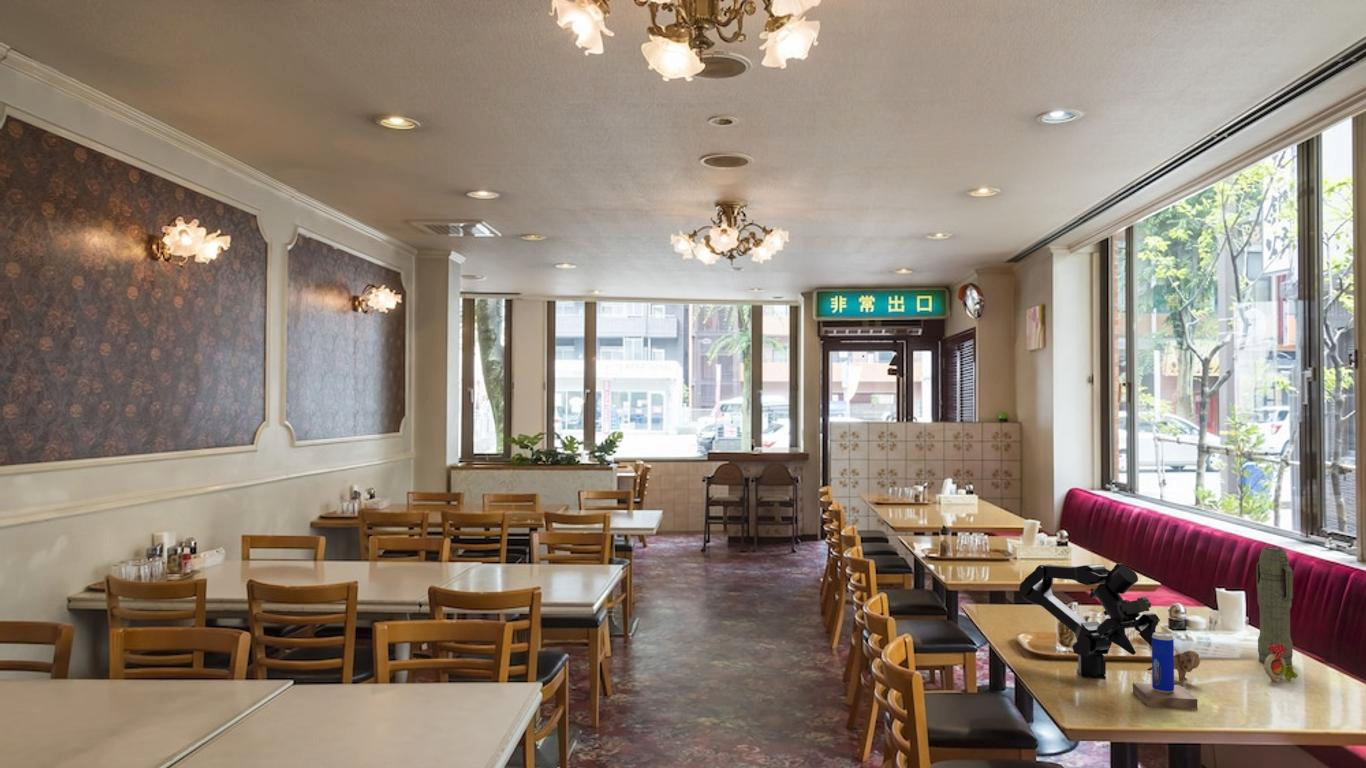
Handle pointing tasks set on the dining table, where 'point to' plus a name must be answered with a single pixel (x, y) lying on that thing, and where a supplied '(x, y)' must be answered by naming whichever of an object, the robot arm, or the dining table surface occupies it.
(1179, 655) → the lion figurine
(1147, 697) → the walnut base board
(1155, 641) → the beverage can
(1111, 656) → the dining table surface
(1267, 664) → the bird rattle
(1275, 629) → the grey-green panelled tower
